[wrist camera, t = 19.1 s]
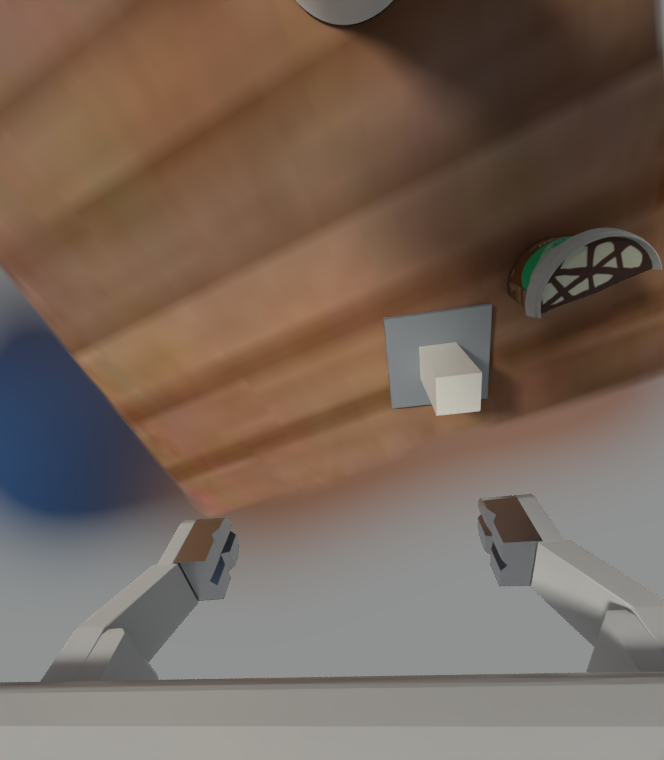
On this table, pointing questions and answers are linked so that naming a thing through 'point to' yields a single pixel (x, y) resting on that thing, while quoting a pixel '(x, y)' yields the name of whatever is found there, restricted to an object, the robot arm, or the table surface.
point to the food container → (577, 267)
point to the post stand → (433, 329)
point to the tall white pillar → (450, 379)
